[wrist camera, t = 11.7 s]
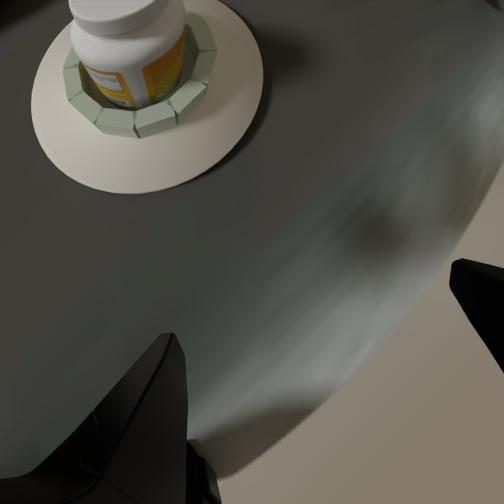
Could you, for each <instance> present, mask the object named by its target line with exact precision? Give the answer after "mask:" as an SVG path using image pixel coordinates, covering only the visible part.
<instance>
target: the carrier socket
mask: <svg viewBox="0 0 504 504" xmlns="http://www.w3.org/2000/svg"><path fill="white" fill-rule="evenodd" d="M183 3H184V6H185V12H186V24H185V35H184V50H183V68H182V75H181V79H180V82H179V84H178V86H177V87H176V89H175V90H174V92H173V93H172V94H171V95H170V96H169V97H168V98H167V99H166V100H164V101H163V102H161V103H158V104H155V105H152V106H149V107H146V108H144V109H141V110H138V111H129V110H124V109H121V108H118V107H116V106H114V105H113V104H111V103H110V102H109V101H108V100H107V99H106V98H105V97H104V95H103V94H102V92H101V91H100V89H99V88H98V87H97V85H96V84H95V82H94V81H93V79H92V78H91V76H90V75H89V73H88V72H87V70H86V69H85V67H84V66H83V64H82V63H81V61H80V60H79V58H78V56H77V55H76V53H75V51H74V49H73V46H72V43H71V37H70V32H71V26H72V22H73V21H71V22H70V23H69V24H68V25H67V26H66V27H65V28H64V29H63V30H62V31H61V33H60V34H59V35H58V36H57V37H56V39H55V40H54V41H53V43H52V44H51V46H50V47H49V49H48V50H47V52H46V54H45V55H44V58H43V60H42V62H41V64H40V66H39V68H38V71H37V74H36V77H35V81H34V86H33V91H32V103H31V109H32V120H33V124H34V129H35V132H36V135H37V138H38V140H39V142H40V145H41V146H42V148H43V150H44V151H45V153H46V154H47V156H48V157H49V159H50V160H51V161H52V162H53V163H54V164H55V165H56V166H57V167H58V168H59V169H60V170H61V171H63V172H64V173H65V174H66V175H67V176H69V177H71V178H72V179H74V180H76V181H78V182H79V183H81V184H84V185H87V186H89V187H92V188H94V189H98V190H103V191H107V192H112V193H122V194H143V193H150V192H156V191H161V190H164V189H168V188H171V187H175V186H177V185H180V184H182V183H184V182H187V181H189V180H191V179H193V178H195V177H197V176H198V175H200V174H202V173H204V172H205V171H207V170H208V169H209V168H211V167H212V166H213V165H215V164H216V163H217V162H219V161H220V160H221V159H222V158H223V157H224V156H225V155H226V154H227V153H228V152H229V151H230V150H231V149H232V148H233V147H234V146H235V144H236V143H237V142H238V141H239V140H240V138H241V137H242V136H243V134H244V133H245V131H246V130H247V128H248V127H249V125H250V123H251V121H252V119H253V117H254V115H255V113H256V111H257V108H258V104H259V101H260V98H261V93H262V86H263V66H262V59H261V55H260V52H259V48H258V45H257V43H256V41H255V39H254V37H253V35H252V33H251V31H250V30H249V29H248V27H247V26H246V24H245V23H244V22H243V21H242V20H241V19H240V18H239V16H238V15H237V14H236V13H234V12H233V11H232V10H231V9H229V8H228V7H227V6H226V5H224V4H222V3H221V2H219V1H217V0H183Z"/></svg>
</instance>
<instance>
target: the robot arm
mask: <svg viewBox="0 0 504 504" xmlns="http://www.w3.org/2000/svg"><path fill="white" fill-rule="evenodd" d="M449 286H450V289H451V291H452V293H453V294H454V296H455V297H456V299H457V301H458V302H459V304H460V306H461V307H462V309H463V311H464V312H465V314H466V316H467V318H468V319H469V321H470V322H471V324H472V326H473V327H474V329H475V330H476V331H477V333H478V334H479V336H480V337H481V339H482V340H483V342H484V343H485V344H486V346H487V347H488V349H489V351H490V352H491V354H492V355H493V357H494V359H495V360H496V362H497V363H498V365H499V366H500V368H501V370H502V371H503V373H504V268H501V267H497V266H493V265H489V264H484V263H480V262H476V261H472V260H468V259H464V258H463V259H458V260H456V261H454V262H453V263H452V266H451V273H450V280H449ZM187 418H188V394H187V380H186V364H185V356H184V353H183V350H182V348H181V346H180V344H179V341H178V339H177V337H176V335H175V334H174V333H166V334H161V335H160V336H159V337H158V338H157V339H156V340H155V341H154V342H153V343H152V344H151V346H150V347H149V348H148V349H147V350H146V351H145V352H144V353H143V355H142V356H141V357H140V358H139V359H138V360H137V361H136V362H135V363H134V365H133V366H132V367H131V368H130V369H129V370H128V371H127V372H126V374H125V375H124V376H123V377H122V378H121V379H120V380H119V381H118V383H117V384H116V385H115V386H114V387H113V388H112V389H111V391H110V392H109V393H108V394H107V395H106V396H105V397H104V398H103V400H102V401H101V402H100V403H99V404H98V405H97V406H96V408H95V409H94V411H92V412H91V413H90V414H89V415H88V417H87V418H86V419H85V420H84V421H83V422H82V423H81V424H80V425H79V427H78V428H77V429H76V430H75V431H74V432H73V433H72V434H71V435H70V436H69V437H68V438H67V439H66V440H65V441H64V442H63V443H62V444H61V445H60V446H59V447H57V448H56V449H55V450H54V451H53V452H52V453H51V454H50V455H49V456H48V457H47V458H46V459H45V460H44V461H43V462H42V463H41V464H39V465H38V466H37V467H36V468H35V469H34V470H32V471H31V472H29V473H27V474H25V475H22V476H19V477H13V478H5V479H0V504H221V503H222V502H221V497H220V493H219V488H218V484H217V479H216V475H215V472H214V471H213V469H212V468H211V467H210V465H209V464H208V462H207V461H206V460H205V459H204V458H202V457H201V458H200V456H199V455H198V453H197V452H196V451H195V449H194V448H193V446H192V445H191V444H190V443H188V442H187ZM186 447H188V448H186Z"/></svg>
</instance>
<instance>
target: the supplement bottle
mask: <svg viewBox="0 0 504 504" xmlns="http://www.w3.org/2000/svg"><path fill="white" fill-rule="evenodd" d="M69 6H70V9H71V12H72V14H73V16H74V20H73V22H72V26H71V32H70V37H71V43H72V46H73V49H74V51H75V53H76V55H77V56H78V58H79V60H80V61H81V63H82V64H83V66H84V67H85V69H86V70H87V72H88V73H89V75H90V76H91V78H92V79H93V81H94V82H95V84H96V85H97V87H98V88H99V89H100V91H101V92H102V94H103V95H104V97H105V98H106V99H107V100H108V101H109V102H110V103H111V104H113V105H114V106H116V107H118V108H121V109H124V110H129V111H138V110H141V109H144V108H146V107H149V106H152V105H155V104H158V103H161V102H163V101H164V100H166V99H167V98H168V97H169V96H170V95H171V94H172V93H173V92H174V90H175V89H176V87H177V86H178V84H179V82H180V79H181V75H182V68H183V50H184V35H185V24H186V12H185V6H184V3H183V0H69Z"/></svg>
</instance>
